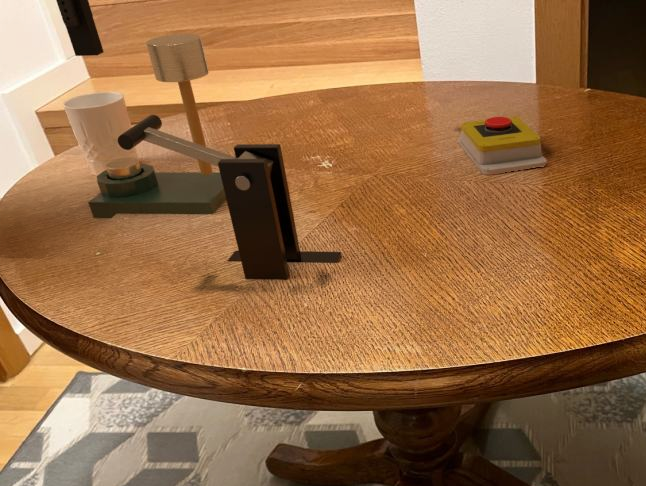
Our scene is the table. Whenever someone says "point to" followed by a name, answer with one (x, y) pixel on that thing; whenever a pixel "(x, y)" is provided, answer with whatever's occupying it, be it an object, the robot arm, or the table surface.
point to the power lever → (175, 143)
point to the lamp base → (158, 193)
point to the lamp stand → (182, 75)
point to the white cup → (99, 127)
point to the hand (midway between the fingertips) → (89, 53)
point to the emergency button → (501, 145)
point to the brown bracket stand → (264, 214)
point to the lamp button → (123, 168)
